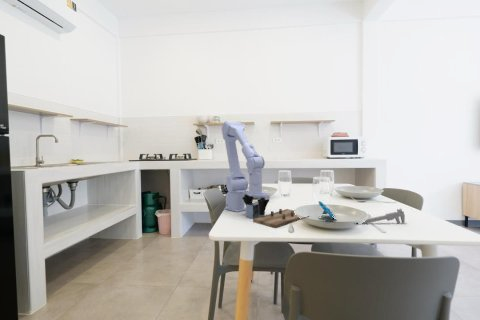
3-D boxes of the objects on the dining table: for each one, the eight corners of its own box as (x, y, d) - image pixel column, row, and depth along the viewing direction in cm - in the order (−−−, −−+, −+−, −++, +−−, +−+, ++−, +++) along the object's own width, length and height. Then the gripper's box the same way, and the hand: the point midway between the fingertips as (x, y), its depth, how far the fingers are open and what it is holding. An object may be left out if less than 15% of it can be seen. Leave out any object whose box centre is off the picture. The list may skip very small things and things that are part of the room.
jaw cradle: (253, 221, 110) (253, 214, 110) (287, 211, 126) (287, 204, 126) (275, 228, 101) (275, 220, 101) (309, 216, 118) (309, 209, 118)
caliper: (402, 223, 107) (403, 208, 107) (404, 224, 106) (405, 208, 105) (353, 224, 106) (353, 209, 106) (354, 225, 105) (355, 209, 105)
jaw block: (246, 217, 117) (246, 204, 116) (258, 214, 122) (258, 201, 122) (252, 219, 114) (252, 205, 114) (264, 215, 120) (264, 202, 119)
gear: (337, 219, 106) (319, 200, 110) (326, 228, 108) (309, 210, 111) (338, 216, 117) (321, 199, 120) (328, 225, 118) (312, 207, 121)
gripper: (237, 182, 120) (238, 212, 120) (261, 186, 109) (261, 218, 110) (248, 181, 125) (248, 209, 125) (272, 184, 114) (272, 214, 115)
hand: (255, 213), depth 118 cm, fingers open, 7 cm apart
